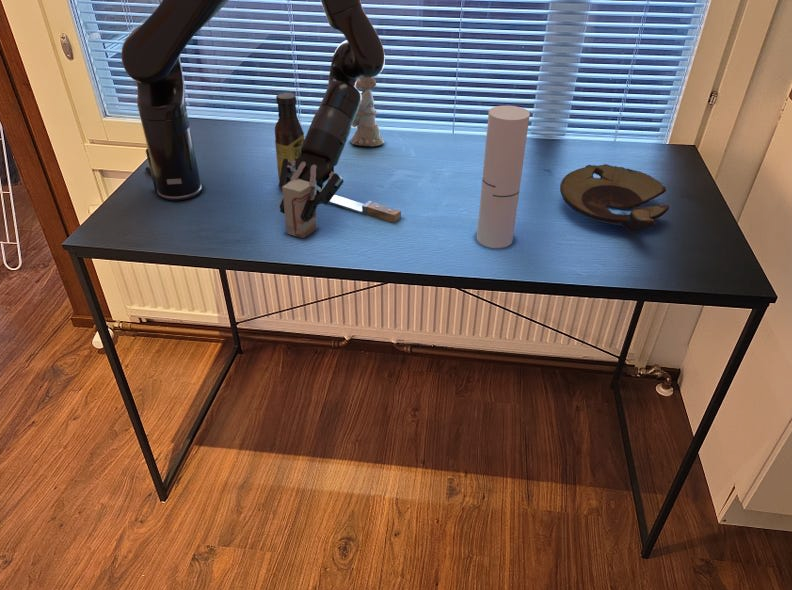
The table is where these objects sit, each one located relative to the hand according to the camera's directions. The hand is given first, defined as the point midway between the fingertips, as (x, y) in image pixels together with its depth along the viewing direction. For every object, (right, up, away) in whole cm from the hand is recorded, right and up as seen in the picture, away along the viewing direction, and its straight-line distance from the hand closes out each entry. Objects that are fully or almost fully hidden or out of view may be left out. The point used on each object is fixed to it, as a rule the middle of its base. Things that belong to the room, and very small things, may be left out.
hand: (294, 216), depth 129 cm
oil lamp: (+65, +2, +11) cm, 66 cm away
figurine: (+12, +27, +40) cm, 49 cm away
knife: (+11, +5, +12) cm, 17 cm away
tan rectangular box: (+1, -2, +4) cm, 5 cm away
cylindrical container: (+40, -4, +3) cm, 40 cm away
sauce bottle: (-3, +11, +20) cm, 23 cm away
